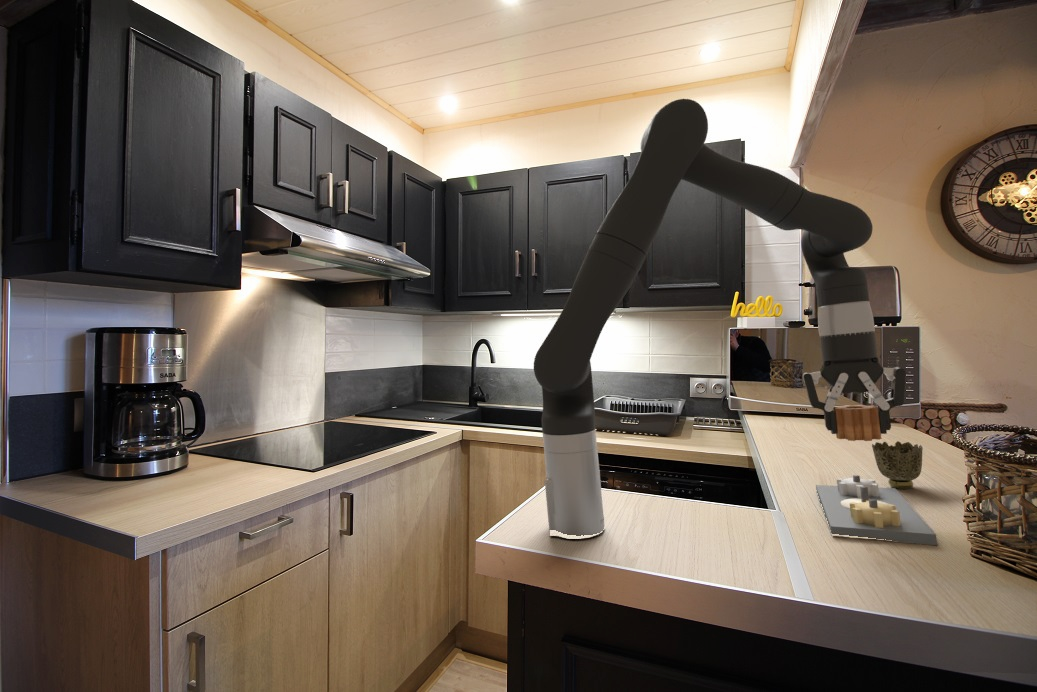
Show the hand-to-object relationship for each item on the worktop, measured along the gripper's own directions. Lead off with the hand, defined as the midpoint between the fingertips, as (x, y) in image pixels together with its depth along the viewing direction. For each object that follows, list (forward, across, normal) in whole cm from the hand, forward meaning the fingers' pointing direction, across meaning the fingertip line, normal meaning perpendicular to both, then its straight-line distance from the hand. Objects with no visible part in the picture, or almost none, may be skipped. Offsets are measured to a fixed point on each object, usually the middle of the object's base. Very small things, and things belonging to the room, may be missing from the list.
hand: (858, 432), depth 75 cm
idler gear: (+1, 0, 0) cm, 1 cm away
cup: (+14, +8, +17) cm, 23 cm away
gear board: (+13, 0, 0) cm, 13 cm away
